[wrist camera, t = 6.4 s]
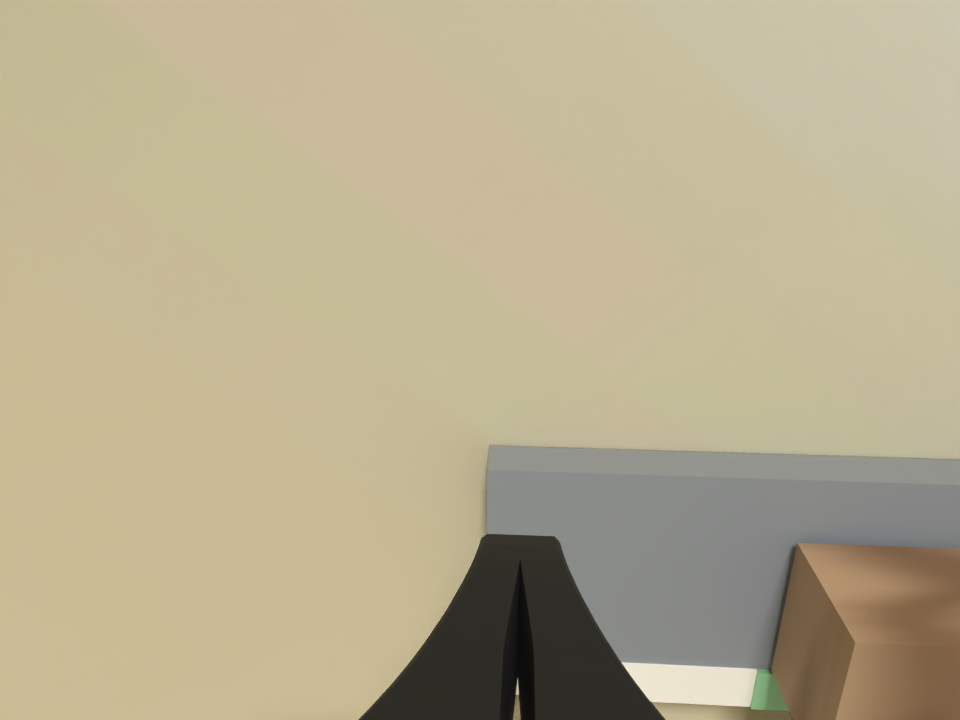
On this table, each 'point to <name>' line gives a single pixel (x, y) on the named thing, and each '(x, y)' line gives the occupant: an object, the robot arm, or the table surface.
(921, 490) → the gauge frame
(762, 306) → the table surface
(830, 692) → the block
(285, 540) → the table surface
